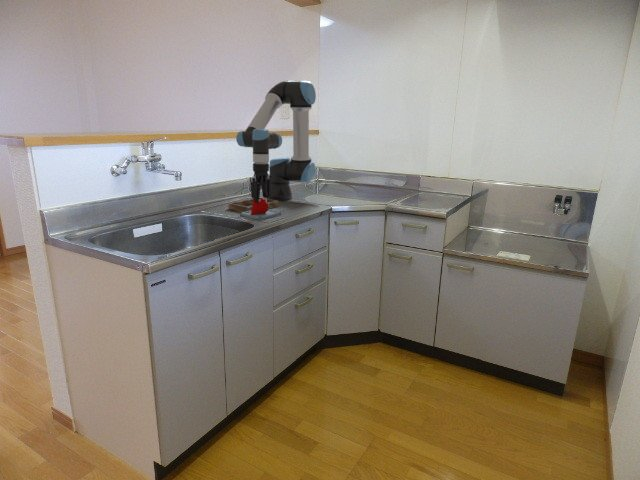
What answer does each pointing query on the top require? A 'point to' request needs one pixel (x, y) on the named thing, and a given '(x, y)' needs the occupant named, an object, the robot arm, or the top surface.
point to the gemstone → (259, 207)
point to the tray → (261, 216)
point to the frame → (242, 205)
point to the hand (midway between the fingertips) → (261, 211)
